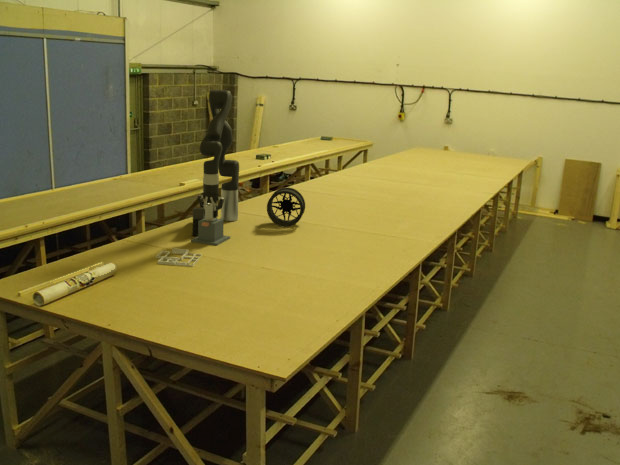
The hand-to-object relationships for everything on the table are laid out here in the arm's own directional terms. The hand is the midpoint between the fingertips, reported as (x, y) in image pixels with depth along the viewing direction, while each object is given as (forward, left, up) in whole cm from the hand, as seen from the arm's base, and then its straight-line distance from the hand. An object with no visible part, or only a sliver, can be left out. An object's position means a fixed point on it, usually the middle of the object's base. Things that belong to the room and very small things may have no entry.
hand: (210, 216), depth 299 cm
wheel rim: (-45, +22, -12) cm, 51 cm away
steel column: (0, 0, -10) cm, 10 cm away
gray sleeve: (0, 0, -12) cm, 12 cm away
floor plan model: (+33, -2, -13) cm, 35 cm away
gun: (-15, -15, -12) cm, 25 cm away
